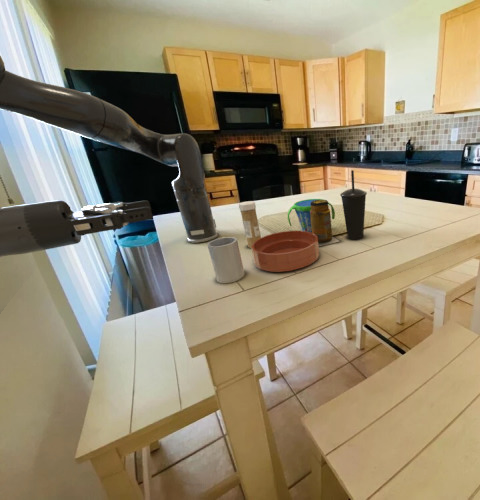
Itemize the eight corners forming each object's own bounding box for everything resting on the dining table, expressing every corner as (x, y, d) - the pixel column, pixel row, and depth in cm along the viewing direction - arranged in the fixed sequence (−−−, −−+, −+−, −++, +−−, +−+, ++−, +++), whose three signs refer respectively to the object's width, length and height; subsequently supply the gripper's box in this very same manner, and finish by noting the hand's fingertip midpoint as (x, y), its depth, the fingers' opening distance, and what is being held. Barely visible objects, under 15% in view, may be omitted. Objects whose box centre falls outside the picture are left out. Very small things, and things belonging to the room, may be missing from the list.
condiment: (328, 234, 88) (325, 197, 84) (340, 241, 81) (337, 202, 77) (307, 239, 86) (302, 201, 81) (317, 247, 78) (313, 206, 74)
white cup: (221, 272, 68) (212, 238, 64) (247, 269, 68) (239, 235, 64) (213, 284, 62) (203, 248, 58) (241, 281, 62) (232, 245, 59)
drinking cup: (339, 240, 82) (334, 172, 74) (347, 232, 88) (344, 169, 81) (363, 242, 79) (361, 171, 72) (370, 233, 86) (369, 168, 78)
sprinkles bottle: (264, 245, 83) (256, 202, 78) (250, 249, 80) (241, 205, 75) (259, 241, 86) (251, 199, 81) (245, 245, 84) (236, 202, 79)
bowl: (261, 249, 80) (258, 233, 78) (318, 244, 81) (317, 228, 79) (248, 276, 64) (244, 257, 62) (320, 269, 65) (318, 250, 63)
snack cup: (290, 240, 86) (285, 208, 82) (289, 230, 95) (285, 201, 92) (338, 234, 88) (336, 203, 84) (333, 224, 97) (331, 196, 93)
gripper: (5, 212, 37) (145, 193, 45) (36, 199, 48) (143, 185, 56) (32, 262, 40) (159, 235, 48) (55, 238, 51) (155, 220, 59)
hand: (150, 208), depth 52 cm, fingers open, 8 cm apart
